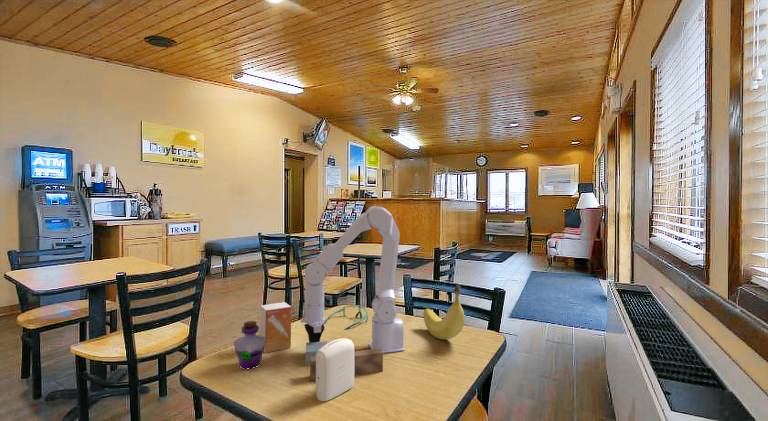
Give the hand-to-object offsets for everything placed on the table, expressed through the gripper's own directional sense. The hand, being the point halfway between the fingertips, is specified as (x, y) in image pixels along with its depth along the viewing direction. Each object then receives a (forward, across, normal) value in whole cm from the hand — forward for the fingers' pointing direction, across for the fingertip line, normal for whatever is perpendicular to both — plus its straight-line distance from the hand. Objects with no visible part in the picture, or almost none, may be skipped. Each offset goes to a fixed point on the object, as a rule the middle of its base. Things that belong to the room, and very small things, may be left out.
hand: (314, 348), depth 113 cm
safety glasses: (+2, -25, +16) cm, 30 cm away
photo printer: (+1, +25, +2) cm, 25 cm away
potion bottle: (+1, +4, -18) cm, 18 cm away
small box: (+1, -7, -11) cm, 13 cm away
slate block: (+1, +5, 0) cm, 5 cm away
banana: (+1, 0, +42) cm, 42 cm away
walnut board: (+1, +16, +6) cm, 17 cm away
